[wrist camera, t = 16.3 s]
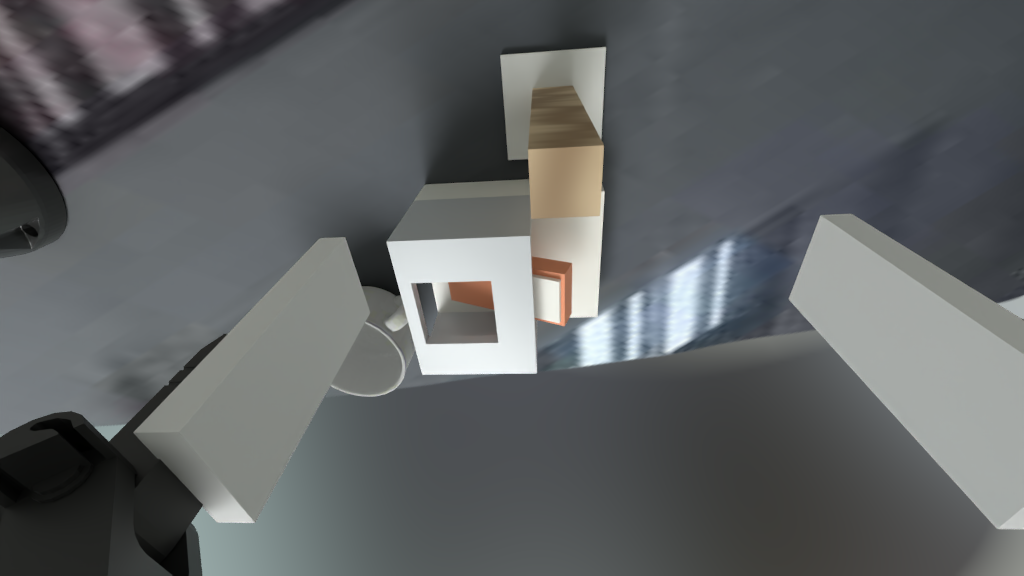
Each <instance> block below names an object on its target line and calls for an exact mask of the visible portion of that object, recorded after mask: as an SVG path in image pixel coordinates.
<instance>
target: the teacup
mask: <svg viewBox="0 0 1024 576" xmlns="http://www.w3.org/2000/svg"><path fill="white" fill-rule="evenodd" d="M362 289H363V292H364V295H365V298H366V301H367V304H368V307H369V310H370V314H369V316H368V318H367V319H366V321H365V323H364V325H363V327H362V329H361V330H360V332H359V334H358V336H357V338H356V340H355V341H354V343H353V345H352V347H351V349H350V351H349V352H348V354H347V356H346V358H345V360H344V361H343V363H342V365H341V367H340V369H339V371H338V372H337V374H336V376H335V378H334V380H333V382H332V383H331V385H330V386H332V387H334V388H335V389H338V390H340V391H343V392H345V393H349V394H353V395H357V396H379V395H384V394H387V393H388V392H391V391H393V390H395V388H397V387H398V386H399V385H400V383H401V382H402V380H403V379H404V377H405V374H406V369H407V367H408V365H409V363H410V360H411V358H412V355H413V353H414V350H415V346H414V342H413V338H412V334H411V331H410V327H409V323H408V320H407V316H406V312H405V309H404V305H403V301H402V298H401V295H399V296H395V295H394V294H392V293H390V292H388V291H386V290H383V289H380V288H376V287H370V286H362Z"/></svg>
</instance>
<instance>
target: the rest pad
mask: <svg viewBox="0 0 1024 576" xmlns="http://www.w3.org/2000/svg"><path fill="white" fill-rule="evenodd" d="M605 57H606V47H596V48H583V49H570V50H557V51H544V52H531V53H518V54H505V55H500V58H501V71H502V85H503V98H504V111H505V125H506V138H507V151H508V160H519V159H528V142H529V128H530V115H531V101H532V88H545V87H559V86H573V87H574V89H575V91H576V93H577V94H578V96H579V98H580V100H581V102H582V104H583V106H584V108H585V110H586V112H587V114H588V116H589V117H590V119H591V121H592V123H593V125H594V127H595V129H596V131H597V133H598V135H599V137H600V139H601V136H602V116H603V96H604V76H605Z"/></svg>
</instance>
